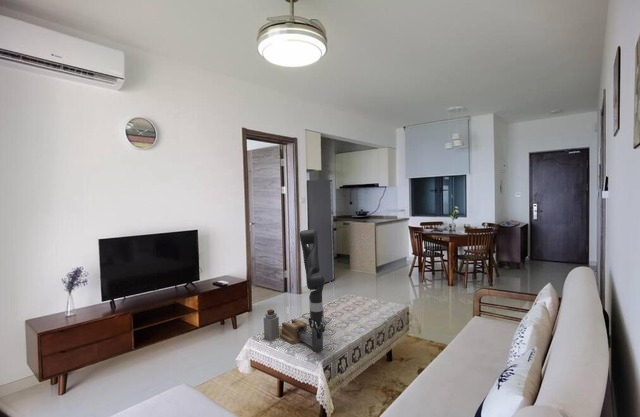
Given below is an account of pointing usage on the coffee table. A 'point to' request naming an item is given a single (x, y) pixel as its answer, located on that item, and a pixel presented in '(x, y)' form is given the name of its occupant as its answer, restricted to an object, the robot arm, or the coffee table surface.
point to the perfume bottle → (271, 325)
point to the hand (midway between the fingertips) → (317, 337)
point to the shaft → (311, 338)
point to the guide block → (292, 331)
